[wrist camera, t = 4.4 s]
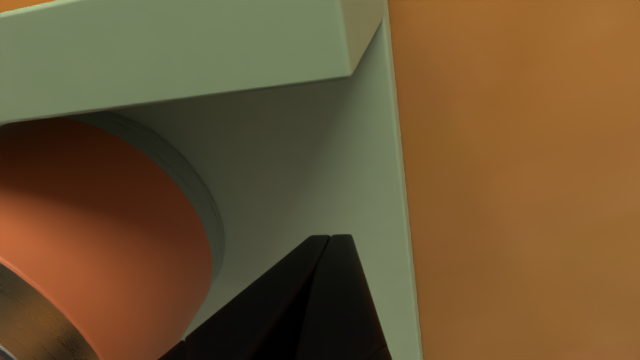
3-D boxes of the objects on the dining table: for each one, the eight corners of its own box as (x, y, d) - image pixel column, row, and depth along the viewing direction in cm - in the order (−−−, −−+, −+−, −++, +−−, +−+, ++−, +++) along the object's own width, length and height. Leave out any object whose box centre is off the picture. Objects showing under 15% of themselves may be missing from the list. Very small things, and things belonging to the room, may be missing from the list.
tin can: (180, 87, 9) (-66, 227, 5) (253, 309, 12) (148, 538, 8) (-40, 117, 11) (-386, 241, 6) (69, 306, 14) (-111, 490, 9)
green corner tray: (382, -53, 8) (331, -60, 4) (429, 420, 15) (435, 649, 10) (-217, 71, 13) (-584, 140, 8) (15, 387, 20) (-117, 529, 15)
